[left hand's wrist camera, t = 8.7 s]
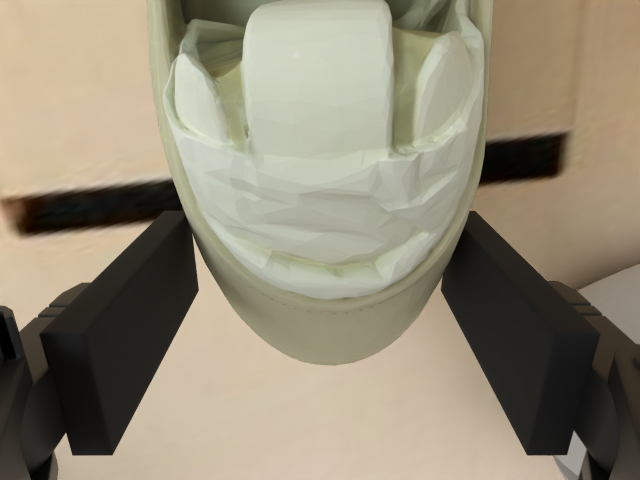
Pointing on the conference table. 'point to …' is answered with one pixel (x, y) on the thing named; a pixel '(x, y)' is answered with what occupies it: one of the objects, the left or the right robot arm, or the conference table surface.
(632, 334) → the projector
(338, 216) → the ballet flat
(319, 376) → the conference table surface
